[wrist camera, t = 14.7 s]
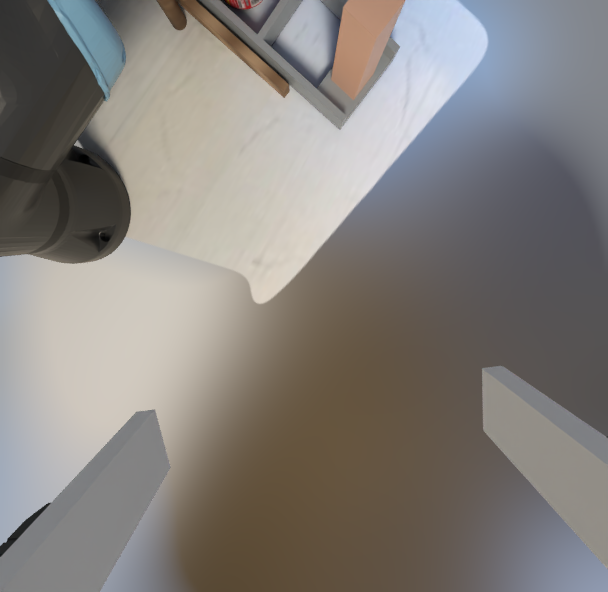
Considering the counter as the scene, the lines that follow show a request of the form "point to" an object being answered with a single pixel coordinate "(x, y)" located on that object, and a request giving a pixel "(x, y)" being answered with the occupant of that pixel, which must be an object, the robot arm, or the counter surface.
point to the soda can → (243, 3)
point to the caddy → (348, 58)
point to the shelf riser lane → (222, 38)
